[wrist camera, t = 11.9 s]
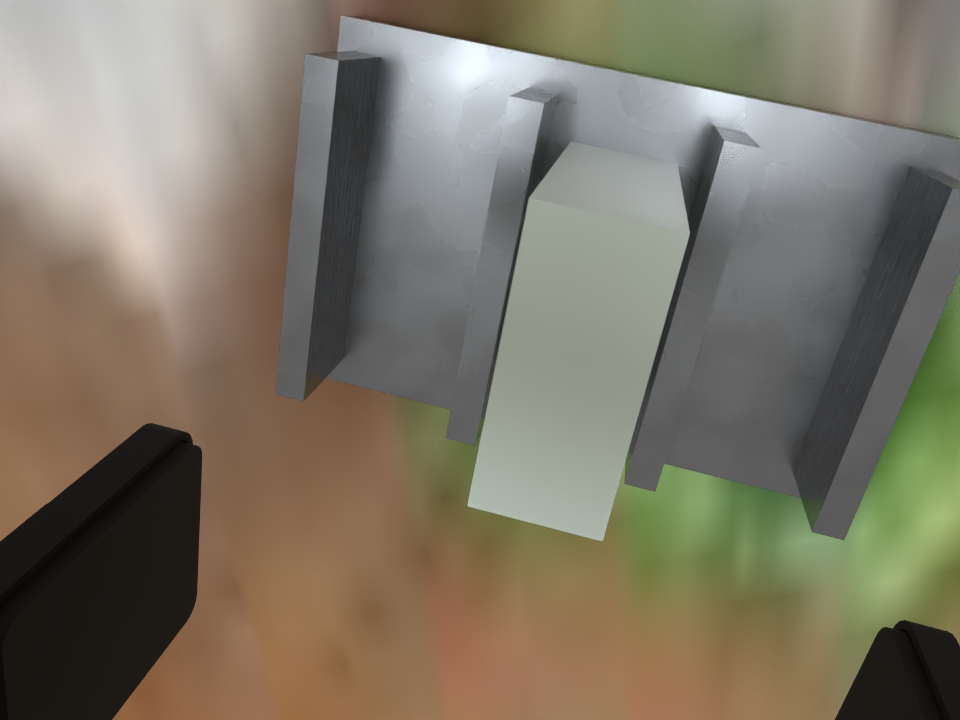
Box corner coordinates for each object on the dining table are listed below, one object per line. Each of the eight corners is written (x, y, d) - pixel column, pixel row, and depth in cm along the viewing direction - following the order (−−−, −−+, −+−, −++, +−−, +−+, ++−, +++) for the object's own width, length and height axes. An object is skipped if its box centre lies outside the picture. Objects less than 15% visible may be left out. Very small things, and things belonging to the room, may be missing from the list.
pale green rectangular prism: (570, 141, 27) (529, 197, 18) (677, 163, 27) (690, 233, 17) (523, 362, 30) (467, 506, 21) (617, 384, 30) (602, 541, 21)
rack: (356, 16, 28) (292, 13, 23) (956, 137, 26) (1029, 162, 21) (318, 358, 33) (259, 416, 28) (817, 483, 31) (849, 570, 26)
